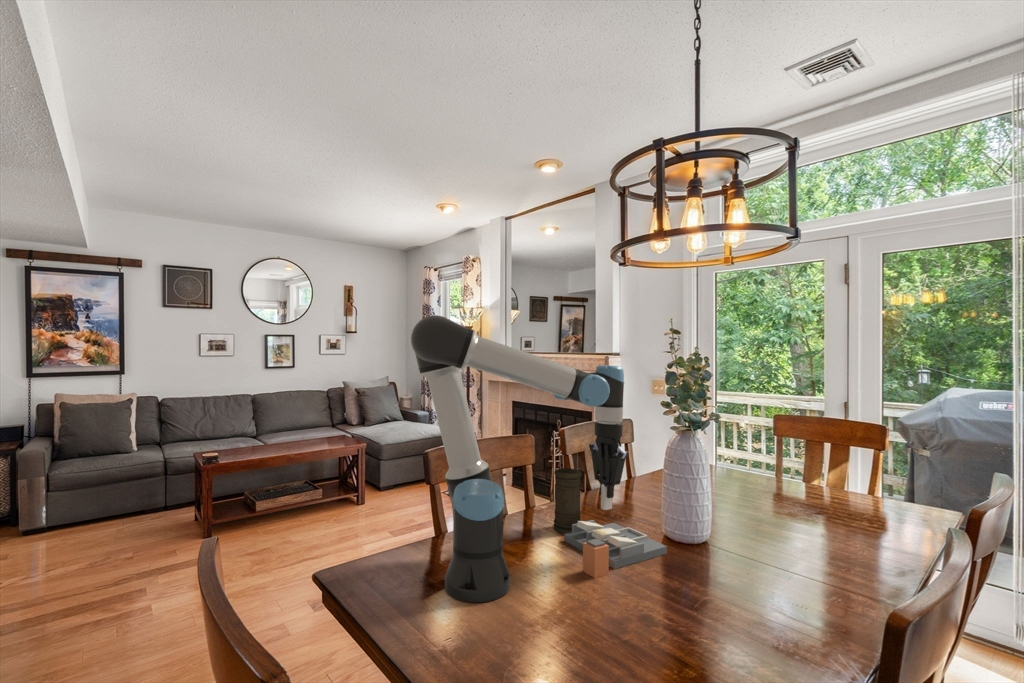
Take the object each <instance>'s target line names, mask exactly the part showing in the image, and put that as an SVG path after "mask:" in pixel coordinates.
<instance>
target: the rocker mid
mask: <svg viewBox="0 0 1024 683" xmlns="http://www.w3.org/2000/svg"><path fill="white" fill-rule="evenodd" d="M619 535H621V532H619V531H617V530H614V529H612V528H606V529H597V530H592V536H593V537H595V538H597V539H599V540H601V541H602V540H603V539H607V538H609V536H619Z"/></svg>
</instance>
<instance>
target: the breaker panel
mask: <svg viewBox="0 0 1024 683" xmlns="http://www.w3.org/2000/svg"><path fill="white" fill-rule="evenodd" d="M585 522H592V523H596V520H594V519H592V520H591V519H590V520H586V521H585ZM601 526H603V527H605V528H601V529H606V528H612V529H614V530H617V531H619V532H621V535H619V536H616V537H625V538H629V539H631V540H633V541H636V542H638V543H637V544H634V545H630V546H626V547H617V546H615V545H613V544H611V543H609V542H608V538H607V539H603V540H602V542H604V543H605V544H606V545H608V546H609V568H612V569H613V570H617V569H619V568H623V567H626V566H630V565H634V564H637V563H640V562H643V561H646V560H647V561H648V560H651V559H654V558H658V557H660V556H664V555H667V554H668V546H667V545H665V544H663V543H660V542H658V541H656V540H653V539H651V538H649V534H648V535H647V534H646V533H643V532H641V531H639V530H636V529H634V528H632V527H629V526H626V527H624V526H622V525H620V524H617V523H615V522H611V523H607V524H603V525H601ZM596 530H597V529H596ZM593 539H597V538H595V537H593V536H592V531H585V530H583V529H581V528H579V527H577V523H576V524H572V532H571V533H567V534H563V541H564V542H566V543H567V544H569V545H571V546H572V547H574V548H576V549H577V550H580V551H581V552H583V543H585V542H587V541H589V540H593ZM598 540H599V539H598ZM600 541H601V540H600Z"/></svg>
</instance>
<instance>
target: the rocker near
mask: <svg viewBox="0 0 1024 683" xmlns="http://www.w3.org/2000/svg"><path fill="white" fill-rule="evenodd" d="M608 542H609V543H611V544H613V545H615V546H617V547H626V546H630V545H634V544H637V543H638V542H636V541H633V540H631V539H629V538H625V537H616V536H609V538H608Z"/></svg>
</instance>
